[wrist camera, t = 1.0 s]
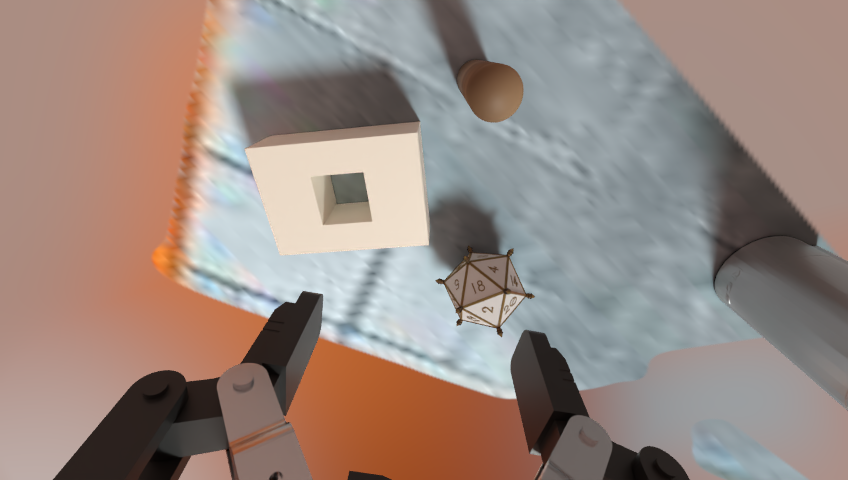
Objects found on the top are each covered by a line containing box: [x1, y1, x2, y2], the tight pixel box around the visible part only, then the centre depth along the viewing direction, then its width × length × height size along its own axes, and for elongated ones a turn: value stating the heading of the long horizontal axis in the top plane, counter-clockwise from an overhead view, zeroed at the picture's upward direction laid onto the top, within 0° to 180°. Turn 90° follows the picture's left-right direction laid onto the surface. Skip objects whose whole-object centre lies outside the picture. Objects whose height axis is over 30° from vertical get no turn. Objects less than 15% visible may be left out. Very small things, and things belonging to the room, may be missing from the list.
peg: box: [457, 59, 523, 122], centre depth 25 cm, size 3×3×12 cm
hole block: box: [245, 121, 430, 255], centre depth 32 cm, size 14×10×5 cm
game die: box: [436, 246, 535, 337], centre depth 35 cm, size 9×8×10 cm
